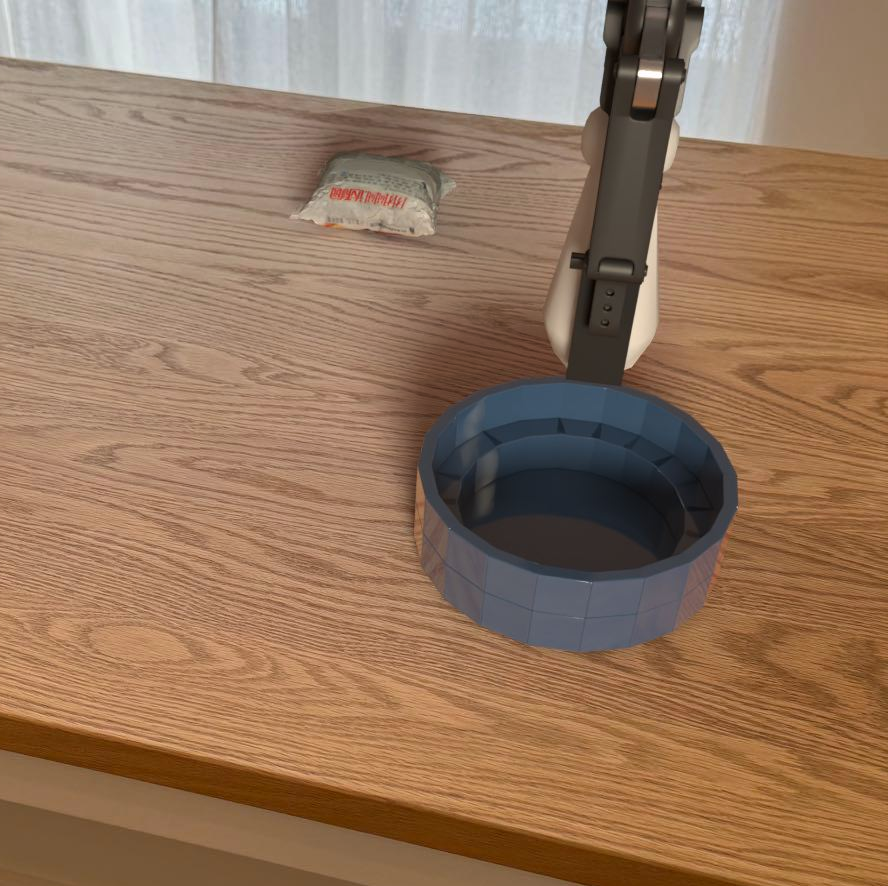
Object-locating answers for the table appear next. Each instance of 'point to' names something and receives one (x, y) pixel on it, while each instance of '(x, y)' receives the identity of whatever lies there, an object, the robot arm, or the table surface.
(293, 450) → the table surface
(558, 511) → the bowl
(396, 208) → the packaged food
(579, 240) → the cream pestle
